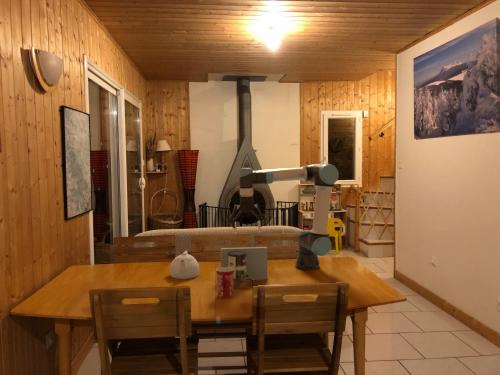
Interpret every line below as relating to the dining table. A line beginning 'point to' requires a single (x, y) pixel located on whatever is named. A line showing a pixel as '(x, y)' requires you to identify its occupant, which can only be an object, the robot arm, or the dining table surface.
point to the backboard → (250, 261)
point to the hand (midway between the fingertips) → (247, 233)
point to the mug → (225, 282)
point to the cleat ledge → (242, 282)
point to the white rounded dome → (184, 267)
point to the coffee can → (237, 263)
